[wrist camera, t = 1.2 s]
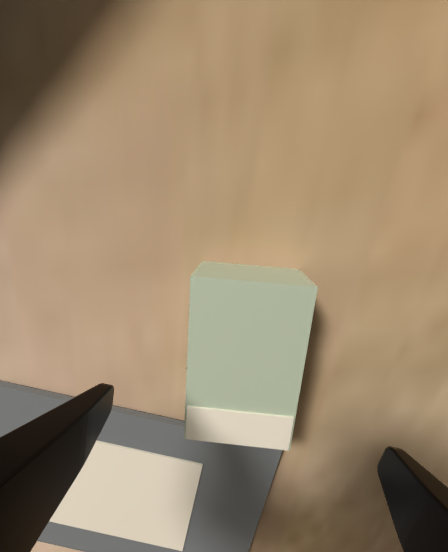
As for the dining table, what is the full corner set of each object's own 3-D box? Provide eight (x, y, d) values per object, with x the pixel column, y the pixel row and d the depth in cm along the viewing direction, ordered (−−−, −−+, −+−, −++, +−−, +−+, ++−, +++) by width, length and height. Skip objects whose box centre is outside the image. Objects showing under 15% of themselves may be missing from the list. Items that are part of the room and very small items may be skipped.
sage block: (297, 267, 13) (318, 287, 10) (278, 397, 15) (290, 452, 12) (202, 260, 13) (190, 276, 10) (196, 388, 15) (183, 440, 12)
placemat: (282, 442, 16) (283, 449, 15) (237, 578, 19) (237, 588, 18) (-31, 373, 16) (-40, 378, 15) (-22, 519, 19) (-29, 528, 19)
